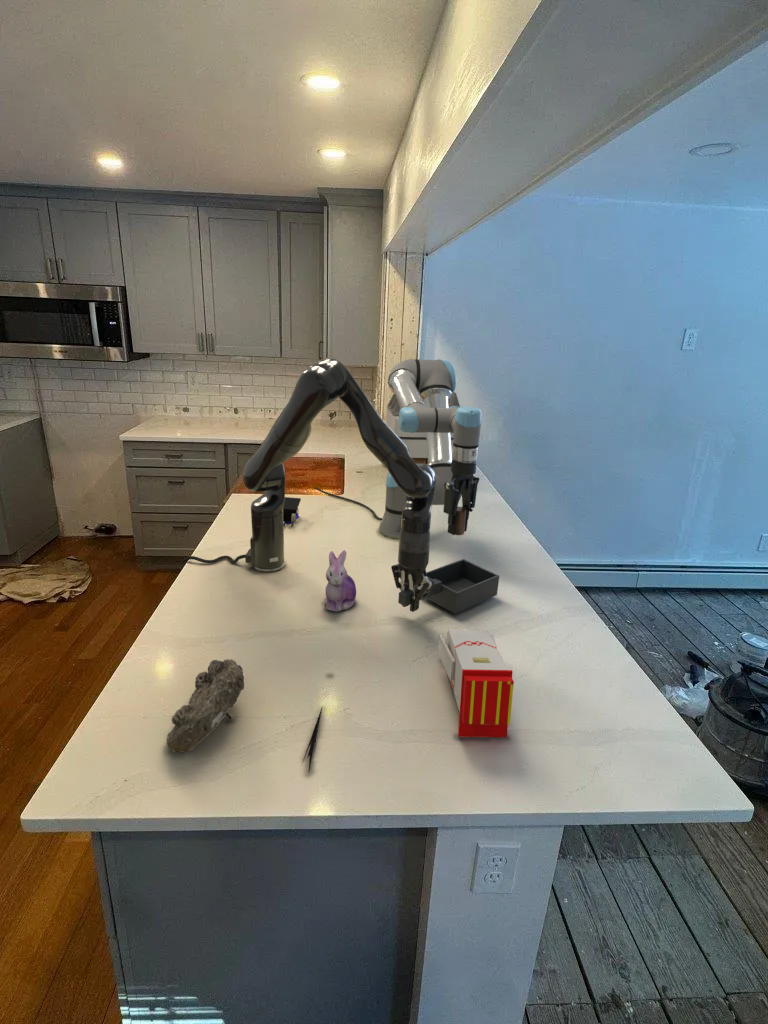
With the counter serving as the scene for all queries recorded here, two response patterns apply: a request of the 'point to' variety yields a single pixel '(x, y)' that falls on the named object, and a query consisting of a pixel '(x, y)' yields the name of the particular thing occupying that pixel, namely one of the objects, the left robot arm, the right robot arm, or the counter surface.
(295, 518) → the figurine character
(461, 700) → the toy
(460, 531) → the walnut peg
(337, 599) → the figurine
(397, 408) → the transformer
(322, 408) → the left robot arm
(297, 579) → the counter surface
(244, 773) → the counter surface
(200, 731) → the fossil
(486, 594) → the bin
